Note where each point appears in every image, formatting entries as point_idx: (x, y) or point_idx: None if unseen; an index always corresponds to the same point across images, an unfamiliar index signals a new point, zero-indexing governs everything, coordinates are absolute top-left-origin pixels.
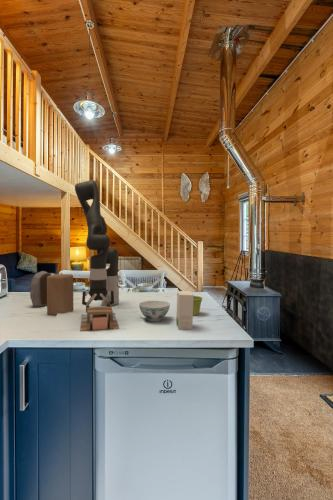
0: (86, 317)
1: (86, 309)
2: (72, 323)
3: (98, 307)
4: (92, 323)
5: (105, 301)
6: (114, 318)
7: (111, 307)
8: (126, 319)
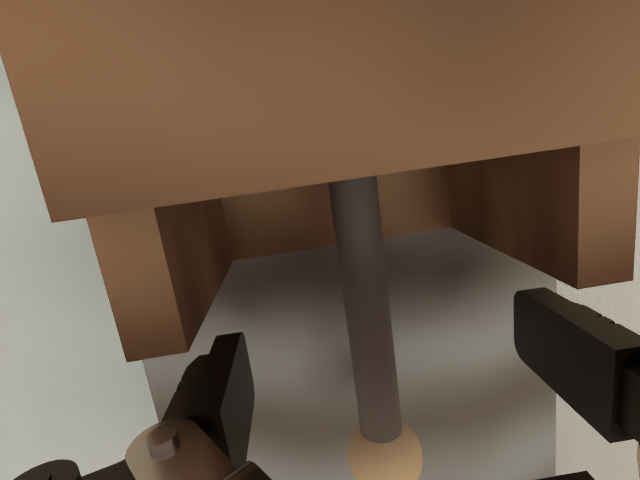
0: (502, 422)
1: (612, 323)
2: (617, 311)
3: (403, 107)
4: (419, 173)
5: (237, 469)
6: (169, 374)
7: (8, 63)
8: (53, 431)
